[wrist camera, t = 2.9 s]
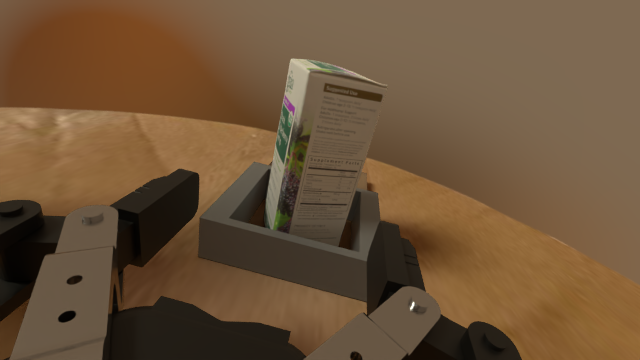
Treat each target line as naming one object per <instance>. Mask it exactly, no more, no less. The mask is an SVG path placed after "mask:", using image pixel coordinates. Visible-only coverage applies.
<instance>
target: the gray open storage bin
mask: <svg viewBox="0 0 640 360" xmlns="http://www.w3.org/2000/svg"><path fill="white" fill-rule="evenodd" d="M271 168H272V166H269V165H265V164H261V163H257V162H253V164H252V165H251V166H250V167H249V168H248V169H247V170H246V171H245V172H244V173H243V174H242V175H241V176H240V177H239V178H238V179H237V180H236V181H235V182H234V183H233V184H232V185H231V186H230V187H229V188H228V189H227V190H226V191H225V192H224V193H223V194H222V195H221V196H220V197H219V198H218V199H217V200H216V201H215V202H214V203H213V204H212V205H211V207H210V208H209V209H208V210H207V211H206V212H205V213H204V214H203V215H202V216H201V217H200V224H199V249H198V257H201V258H205V259H209V260H212V261H216V262H220V263H223V264H227V265H231V266H235V267H238V268H242V269H246V270H250V271H253V272H257V273H261V274H265V275H268V276H272V277H276V278H279V279H283V280H287V281H291V282H294V283H298V284H302V285H306V286H309V287H313V288H317V289H321V290H324V291H328V292H332V293H335V294H339V295H343V296H347V297H350V298H354V299H358V300H362V301H365V302H367V257H368V252H369V249H370V246H371V243H372V240H373V238H374V235H375V232H376V229H377V226H378V224H379V222H380V211H379V200H378V193H376V192H372V191H368V190H364V189H360V188H356V191H355V194H354V197H353V201H352V204H351V207H350V211H349V214H348V217H347V220H350V221H352V227H351V241H350V250H348V249H344V248H341V247H337V246H333V245H329V244H325V243H322V242H318V241H314V240H310V239H306V238H302V237H299V236H295V235H291V234H287V233H283V232H280V231H276V230H272V229H268V228H264V227H260V226H257V225H253V224H249V223H248V222H249V220H250V219H251V217H252V216H253V214H254V213H255V211H256V210H257V208H258V207H259V205H260V204H261V202H262V201H263V199H266V198H267V191H268V186H269V180H270V174H271Z"/></svg>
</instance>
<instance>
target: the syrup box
mask: <svg viewBox="0 0 640 360" xmlns="http://www.w3.org/2000/svg"><path fill="white" fill-rule="evenodd" d="M387 86H388V85H384V84H380V83H377V82H375V81H373V80H370V79H368V78H365V77H363V76H361V75H358V74H357V73H354V72H352V71H349V70H347V69H344V68H341V67H338V66H335V65H331V64H327V63H323V62H318V61H312V60H304V59H291V61H290V66H289V71H288V77H287V83H286V89H285V95H284V100H283V106H282V111H281V117H280V122H279V129H278V134H277V139H276V145H275V151H274V157H273V162H272V168H271V174H270V180H269V186H268V191H267V198H266V205H265V211H264V223H265V228H268V229H272V230H276V231H280V232H283V233H287V234H291V235H295V236H299V237H302V238H306V239H310V240H314V241H318V242H322V243H325V244H329V245H333V246H337V247H338V246H339V242H340V239H341V236H342V232H343V230H344V226H345V223H346V220H347V217H348V214H349V211H350V207H351V204H352V201H353V197H354V194H355V191H356V188H357V185H358V181H359V178H360V175H361V172H362V169H363V165H364V162H365V159H366V156H367V153H368V149H369V146H370V143H371V140H372V136H373V133H374V130H375V127H376V124H377V120H378V117H379V114H380V110H381V107H382V104H383V101H384V98H385V94H386V91H387Z"/></svg>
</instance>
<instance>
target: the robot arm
mask: <svg viewBox="0 0 640 360" xmlns="http://www.w3.org/2000/svg"><path fill="white" fill-rule="evenodd" d="M198 202H199V175H198V173H196V172H192V171H188V170H184V169H178V170H176V171H175V172H173V173H171V174H170V175H168V176H167V177H166V176H164V177H160V178H157V179H153V180H151V181H149V182H148V183H146V184H145V185H143V187H140V188H138V189H136V190H135V192H132V193H130V194H128V195H127V196H125V197H123V198H122V199H120V200H118V201H117V202H115V203H114V204H112V205H110V206H105V205H93V206H86V207H82V208H79V209H77V210H74V211H73V212H71V213H70V214H68V215H67V217H63V216H43V213H42V209H41V206H40V204H39V203H37V202H34V201H30V200H12V201H6V202H1V203H0V321H2V320H3V319H4V318H5V317H7V316H8V315H9V314H10V313H12V312H13V311H14V310H15V309H17V308H18V307H19V306H20V305H21V304H23V303H24V302H25V301H26V300H28V299H29V298H30V297H31V298H30V301H29V304H28V307H27V310H26V313H25V316H24V319H23V322H22V325H21V327H20V330H19V333H18V336H17V339H16V342H15V345H14V348H13V351H12V354H11V357H9V358H7V359H4V360H522V359H521V357H520V355H519V352H518V350H517V348H516V346H515V345H514V344H513V342H512V341H511V340H510V339H509V338H508V337H507V336H506V335H505V334H504V333H503V332H502V331H500V330H499V329H497V328H496V327H494V326H492V325H490V324H488V323H485V322H479V321H478V322H473V323H471V324H470V325H469V327H468V328H467V329H466V328H465V327H463V326H461V325H459V324H457V323H455V322H453V321H451V320H449V319H448V318H446V317H444V316H443V315H442V314H441V311H440V307H439V305H438V303H437V302H436V301H435V299H434V298H433V297H432V296H430V295H429V294H428V293H426V290H425V287H424V283H423V279H422V275H421V271H420V267H419V263H418V259H417V255H416V251H415V248H414V247H413V245H412V244H411V243H410V242H409V240H407V239H404V238H401V236H400V231H399V226H398V225H396V224H392V223H388V222H384V221H380V222H379V224H378V226H377V229H376V232H375V235H374V238H373V240H372V243H371V246H370V249H369V252H368V257H367V315H366V314H365V313H360V314H359V315H357V316H356V317H355V318H354V319H353V320H351V321H350V322H349V323H348V324H346V325H345V326H344V327H343V328H342V329H340V330H339V331H338V332H337V333H335V334H334V335H333V336H332V337H330V338H329V339H328V340H327V341H326V342H324V343H323V344H322V345H321V346H319V347H318V348H317V349H316V350H315V351H313V352H312V353H311V354H310V355H308V356H307V357H306V356H305V355H304V354H303V353H302V352H301V351H300V350H299V349H297V348H296V347H295V346H293V345H292V344H290V343H288V340H289V336H290V332H291V331H287V330H283V329H280V328H276V327H273V326H269V325H265V324H262V323H255V322H227V321H220V320H218V319H217V318H215V317H213V316H211V315H210V314H208V313H206V312H205V311H203V310H201V309H199V308H198V307H196V306H194V305H193V304H189V303H185V302H182V301H178V300H174V299H171V298H167V297H163V296H161V297H160V298H159V299H158V301H157V302H156V303H155V304H154V305H153V306H143V307H135V308H129V309H125V310H124V268H125V267H126V266H127V265H128V264H131V265H135V266H139V267H143V266H144V265H145V264H146V263H147V262H148V261H149V260H150V259H151V258H152V257H153V256H154V255H155V254H156V253H157V252H158V251H159V250H160V249H161V248H162V247H163V246H165V245H166V244H167V243H168V242H169V241H170V240H171V239H172V238H173V237H174V236H175V235H176V234H177V233H178V232H179V231H180V230H181V229H182V228H183V227H184V226H185V225H186V224H187V223H188V222H189V221H190V220H191V219H192V218H193V217H194V215H195V214H196V212H197V209H198Z"/></svg>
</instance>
